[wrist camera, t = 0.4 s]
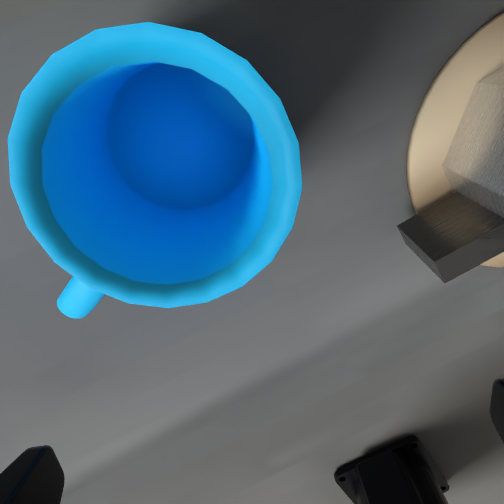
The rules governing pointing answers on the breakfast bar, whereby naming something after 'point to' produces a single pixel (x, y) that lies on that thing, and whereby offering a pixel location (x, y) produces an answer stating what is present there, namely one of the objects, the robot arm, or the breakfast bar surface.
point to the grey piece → (467, 191)
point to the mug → (153, 167)
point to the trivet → (449, 116)
